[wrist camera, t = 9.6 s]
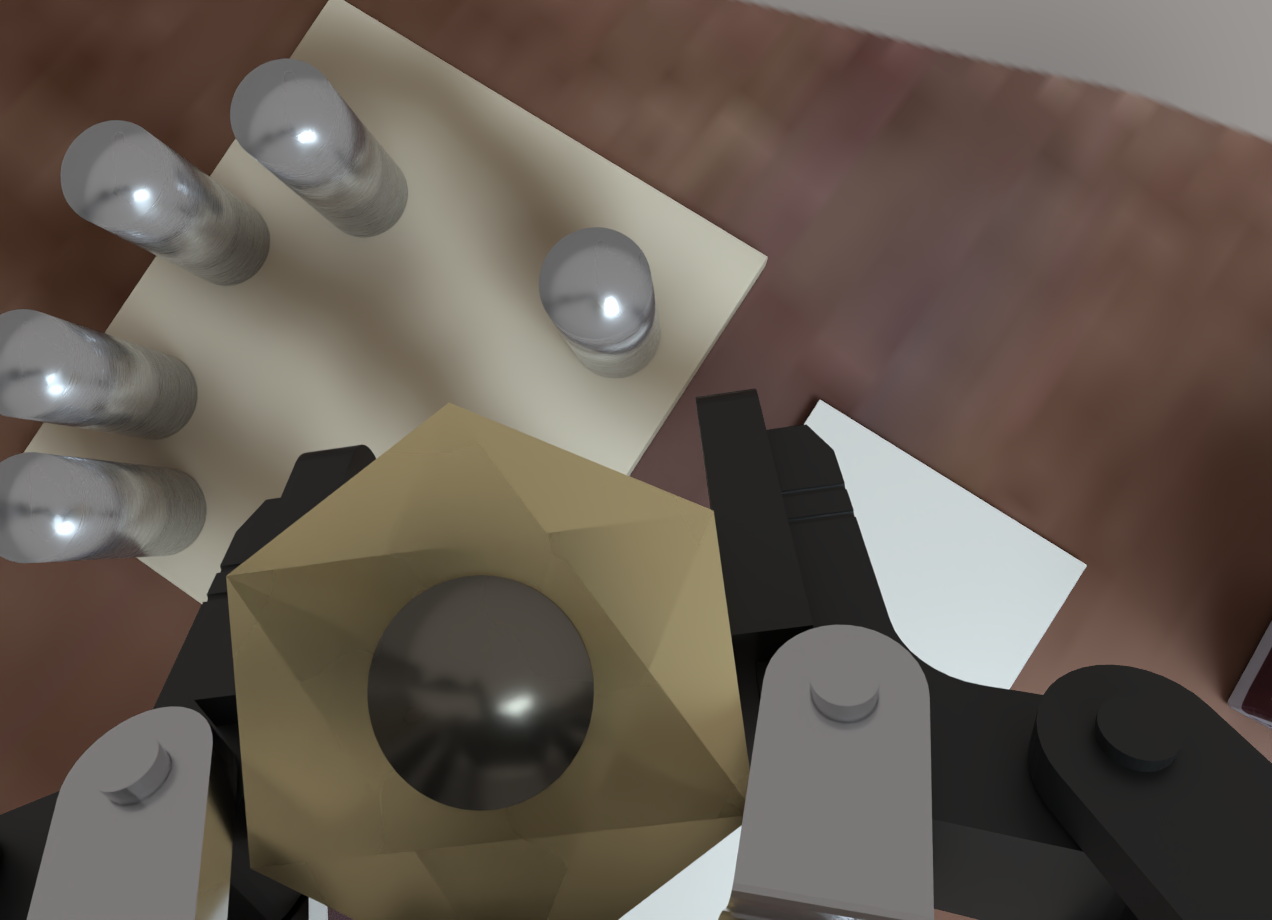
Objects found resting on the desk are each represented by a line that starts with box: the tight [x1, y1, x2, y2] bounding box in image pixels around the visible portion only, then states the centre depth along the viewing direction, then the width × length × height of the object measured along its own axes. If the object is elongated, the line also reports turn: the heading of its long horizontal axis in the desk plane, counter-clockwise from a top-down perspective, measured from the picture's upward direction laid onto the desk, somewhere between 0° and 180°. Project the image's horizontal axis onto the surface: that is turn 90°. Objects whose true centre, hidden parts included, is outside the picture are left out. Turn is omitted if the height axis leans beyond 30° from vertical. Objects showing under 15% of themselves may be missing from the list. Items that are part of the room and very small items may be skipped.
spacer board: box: [24, 0, 768, 604], centre depth 30 cm, size 20×18×1 cm
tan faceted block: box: [226, 403, 750, 920], centre depth 11 cm, size 5×4×8 cm
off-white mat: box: [618, 400, 1087, 920], centre depth 28 cm, size 18×10×1 cm, turn 147°
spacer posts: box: [0, 59, 661, 563], centre depth 26 cm, size 16×16×6 cm
